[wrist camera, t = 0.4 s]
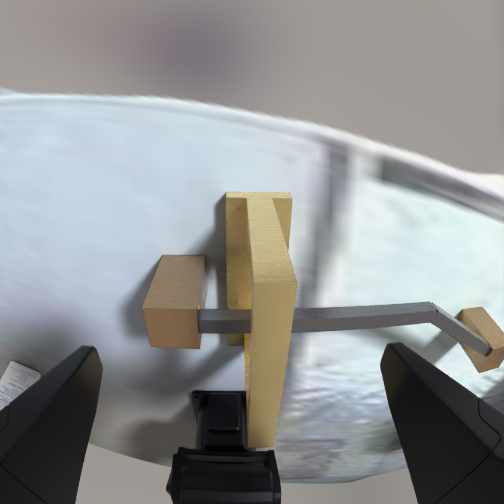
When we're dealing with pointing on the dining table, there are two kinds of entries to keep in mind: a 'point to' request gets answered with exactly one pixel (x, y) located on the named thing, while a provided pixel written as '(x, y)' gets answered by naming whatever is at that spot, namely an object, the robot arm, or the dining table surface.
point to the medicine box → (16, 382)
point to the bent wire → (297, 315)
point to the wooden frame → (261, 300)
